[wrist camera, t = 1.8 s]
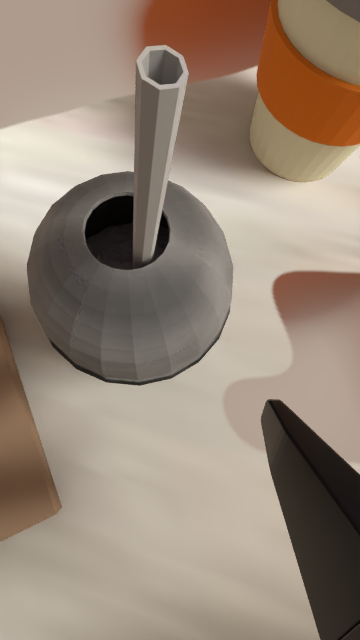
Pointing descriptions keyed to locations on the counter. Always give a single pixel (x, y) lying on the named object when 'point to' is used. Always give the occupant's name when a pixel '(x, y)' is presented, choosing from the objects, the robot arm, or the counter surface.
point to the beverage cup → (134, 254)
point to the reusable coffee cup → (308, 88)
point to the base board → (20, 455)
